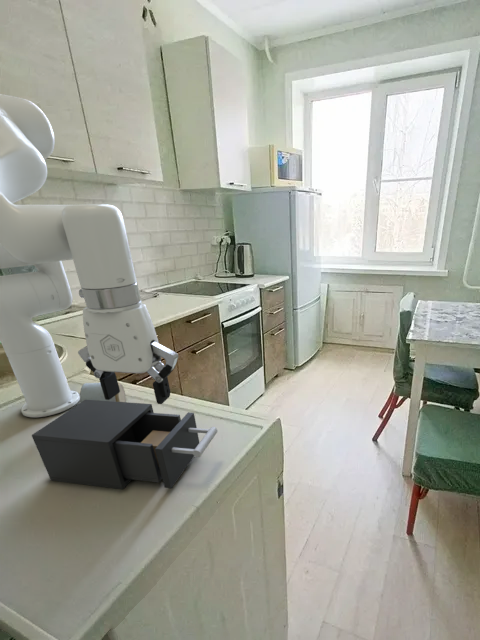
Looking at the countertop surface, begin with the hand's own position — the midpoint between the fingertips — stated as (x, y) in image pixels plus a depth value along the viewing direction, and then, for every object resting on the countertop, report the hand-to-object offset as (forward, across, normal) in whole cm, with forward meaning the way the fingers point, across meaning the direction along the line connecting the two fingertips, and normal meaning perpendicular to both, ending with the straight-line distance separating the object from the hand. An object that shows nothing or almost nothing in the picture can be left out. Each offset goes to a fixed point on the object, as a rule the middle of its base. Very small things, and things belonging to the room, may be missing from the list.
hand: (138, 398), depth 60 cm
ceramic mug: (+14, -23, +17) cm, 32 cm away
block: (+12, +3, -1) cm, 12 cm away
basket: (+13, +3, -1) cm, 13 cm away
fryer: (+14, -8, -1) cm, 16 cm away
